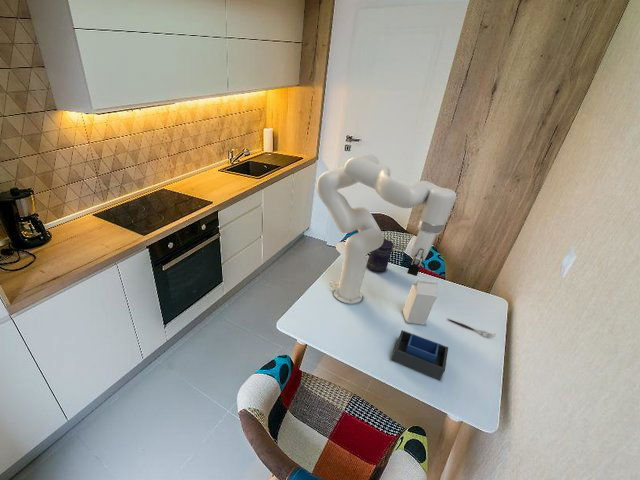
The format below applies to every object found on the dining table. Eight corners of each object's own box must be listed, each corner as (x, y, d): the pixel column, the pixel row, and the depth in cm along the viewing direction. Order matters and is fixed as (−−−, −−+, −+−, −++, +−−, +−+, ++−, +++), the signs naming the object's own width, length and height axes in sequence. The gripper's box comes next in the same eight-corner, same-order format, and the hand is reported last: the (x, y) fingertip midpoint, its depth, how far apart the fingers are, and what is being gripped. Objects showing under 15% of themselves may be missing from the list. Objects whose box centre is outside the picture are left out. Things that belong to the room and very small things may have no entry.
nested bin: (402, 358, 115) (408, 345, 111) (406, 346, 120) (411, 333, 116) (430, 369, 110) (436, 356, 107) (433, 356, 115) (439, 343, 112)
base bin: (391, 360, 115) (395, 349, 112) (397, 340, 123) (401, 329, 120) (439, 380, 108) (445, 370, 105) (443, 357, 116) (448, 347, 113)
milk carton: (424, 325, 130) (440, 287, 120) (406, 322, 132) (420, 285, 121) (419, 314, 136) (434, 277, 126) (402, 311, 137) (415, 275, 127)
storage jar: (383, 275, 161) (391, 249, 153) (364, 269, 166) (370, 244, 158) (387, 266, 169) (395, 241, 161) (368, 261, 173) (375, 236, 165)
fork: (448, 319, 134) (450, 315, 133) (493, 337, 125) (496, 333, 124) (447, 322, 133) (449, 318, 131) (492, 340, 124) (495, 336, 123)
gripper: (422, 214, 114) (408, 255, 123) (413, 232, 102) (398, 275, 111) (446, 219, 111) (429, 261, 120) (440, 238, 99) (421, 283, 108)
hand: (414, 268), depth 116 cm, fingers open, 9 cm apart
